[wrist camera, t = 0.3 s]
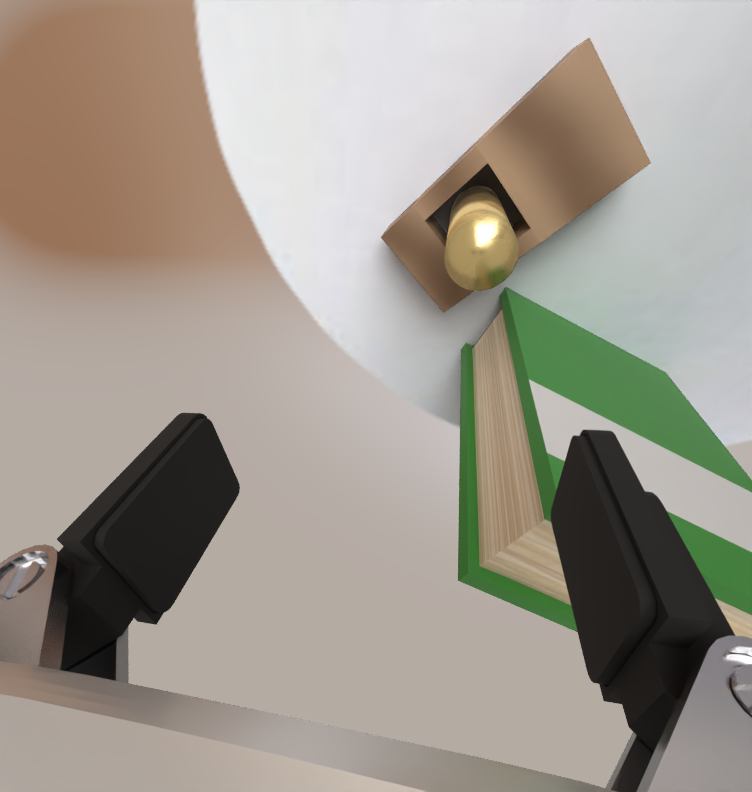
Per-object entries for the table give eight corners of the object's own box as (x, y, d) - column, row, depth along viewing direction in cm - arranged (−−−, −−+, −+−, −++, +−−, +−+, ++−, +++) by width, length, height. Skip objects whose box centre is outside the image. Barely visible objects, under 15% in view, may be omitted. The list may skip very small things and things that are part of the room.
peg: (482, 173, 28) (491, 199, 19) (511, 216, 30) (533, 260, 20) (440, 211, 30) (430, 251, 21) (469, 249, 32) (471, 303, 22)
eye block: (572, 48, 24) (589, 37, 20) (628, 158, 26) (650, 163, 23) (389, 225, 32) (381, 237, 29) (445, 295, 35) (443, 312, 31)
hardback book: (461, 349, 38) (458, 580, 19) (505, 287, 33) (560, 507, 14) (604, 422, 39) (733, 699, 21) (665, 372, 35) (902, 668, 16)
